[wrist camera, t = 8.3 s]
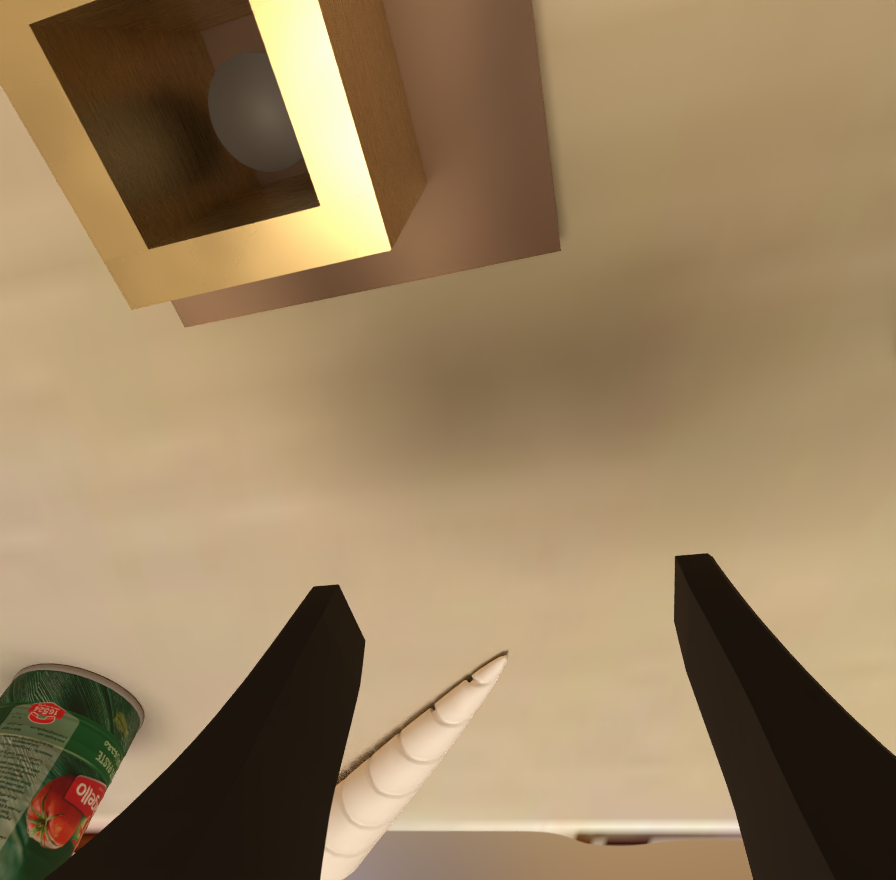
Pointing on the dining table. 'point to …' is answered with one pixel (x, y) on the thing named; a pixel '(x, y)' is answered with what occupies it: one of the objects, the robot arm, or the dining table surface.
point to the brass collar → (213, 136)
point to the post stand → (439, 139)
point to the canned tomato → (57, 762)
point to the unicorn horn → (397, 774)
